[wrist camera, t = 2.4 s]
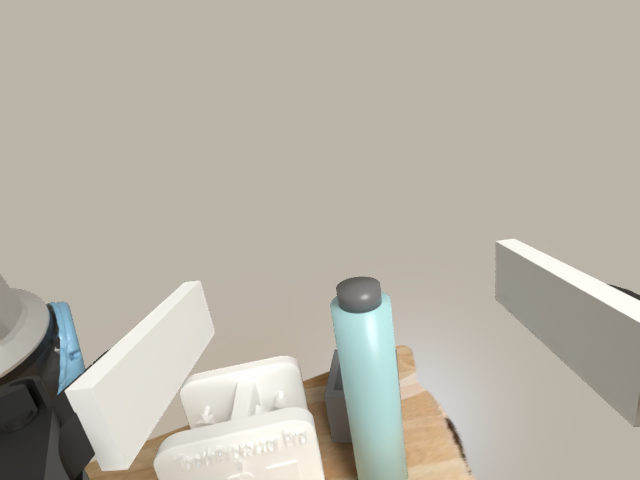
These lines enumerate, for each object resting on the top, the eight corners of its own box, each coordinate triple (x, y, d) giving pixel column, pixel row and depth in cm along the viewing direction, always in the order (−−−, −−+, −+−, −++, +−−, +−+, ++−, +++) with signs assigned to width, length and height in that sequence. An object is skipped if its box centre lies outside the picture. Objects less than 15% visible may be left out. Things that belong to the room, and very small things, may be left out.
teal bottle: (358, 516, 30) (322, 302, 24) (361, 466, 35) (332, 275, 28) (411, 522, 29) (389, 299, 22) (407, 469, 34) (388, 271, 27)
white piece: (317, 423, 41) (303, 349, 38) (330, 510, 31) (312, 419, 28) (204, 449, 40) (179, 375, 37) (179, 548, 30) (141, 459, 27)
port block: (332, 442, 38) (324, 396, 36) (341, 389, 46) (334, 349, 44) (404, 446, 36) (399, 398, 34) (400, 390, 44) (396, 349, 42)
